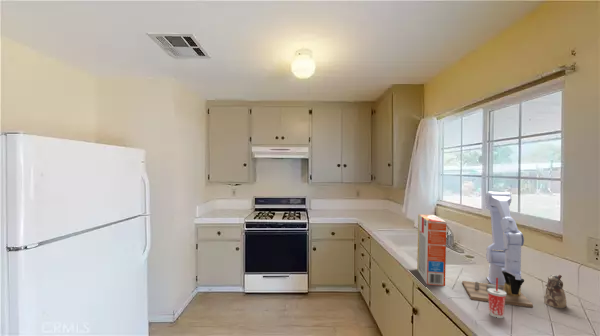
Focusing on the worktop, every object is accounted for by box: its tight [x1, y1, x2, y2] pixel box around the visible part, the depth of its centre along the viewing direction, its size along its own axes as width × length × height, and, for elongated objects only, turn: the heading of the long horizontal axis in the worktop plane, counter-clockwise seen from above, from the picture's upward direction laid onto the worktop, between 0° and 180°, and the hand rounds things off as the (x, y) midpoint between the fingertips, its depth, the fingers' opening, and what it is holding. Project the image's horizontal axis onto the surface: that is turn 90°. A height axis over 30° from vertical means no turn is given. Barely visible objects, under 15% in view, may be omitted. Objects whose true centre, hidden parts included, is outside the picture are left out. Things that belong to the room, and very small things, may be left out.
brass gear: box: [504, 282, 522, 296], centre depth 136 cm, size 6×6×4 cm
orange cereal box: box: [416, 213, 447, 287], centre depth 159 cm, size 23×8×30 cm, turn 170°
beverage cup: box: [487, 278, 506, 319], centre depth 117 cm, size 6×6×14 cm
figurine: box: [543, 274, 567, 309], centre depth 128 cm, size 7×7×12 cm
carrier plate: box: [461, 280, 534, 308], centre depth 138 cm, size 20×22×5 cm
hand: (512, 291), depth 136 cm, fingers closed on brass gear, 6 cm apart
